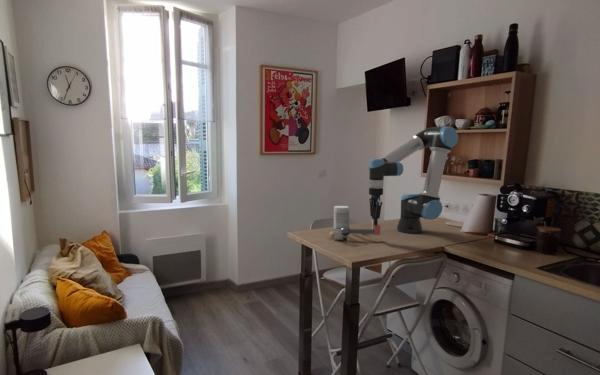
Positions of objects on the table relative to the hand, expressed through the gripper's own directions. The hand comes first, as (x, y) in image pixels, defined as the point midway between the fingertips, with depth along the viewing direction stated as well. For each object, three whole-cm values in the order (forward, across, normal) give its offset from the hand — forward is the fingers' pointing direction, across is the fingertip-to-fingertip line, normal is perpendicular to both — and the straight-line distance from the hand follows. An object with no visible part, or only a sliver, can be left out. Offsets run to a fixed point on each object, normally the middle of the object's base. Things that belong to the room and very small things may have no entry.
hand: (374, 230), depth 190 cm
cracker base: (+6, +1, -12) cm, 13 cm away
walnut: (+5, -4, -22) cm, 22 cm away
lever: (+5, +2, -11) cm, 12 cm away
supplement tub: (+7, -28, -11) cm, 31 cm away
